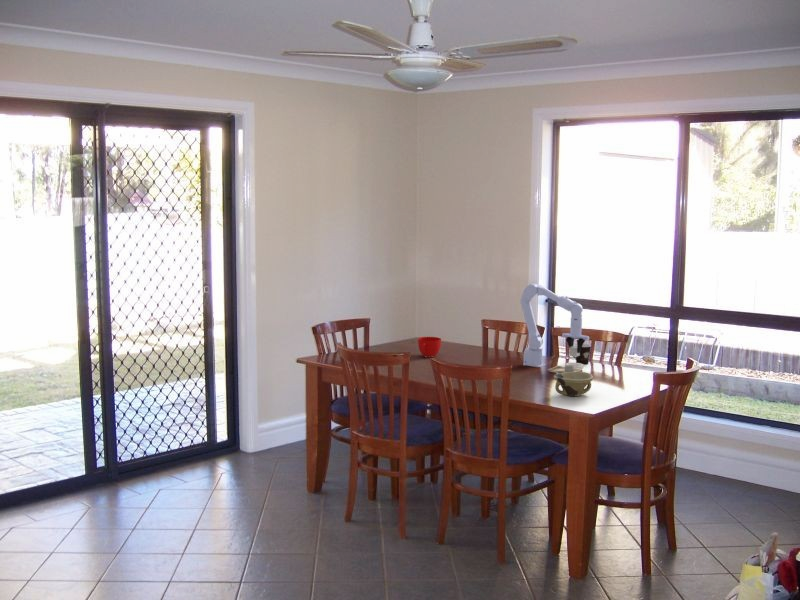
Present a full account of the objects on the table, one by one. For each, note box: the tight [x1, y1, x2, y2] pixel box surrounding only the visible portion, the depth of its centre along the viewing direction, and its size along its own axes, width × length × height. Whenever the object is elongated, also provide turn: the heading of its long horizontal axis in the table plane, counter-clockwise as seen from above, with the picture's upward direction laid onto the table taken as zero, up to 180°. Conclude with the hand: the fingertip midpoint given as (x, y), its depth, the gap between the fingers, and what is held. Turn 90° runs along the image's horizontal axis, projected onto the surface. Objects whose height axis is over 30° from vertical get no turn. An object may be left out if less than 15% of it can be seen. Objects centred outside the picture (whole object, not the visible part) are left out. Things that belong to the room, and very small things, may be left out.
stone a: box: [569, 345, 580, 358], centre depth 421 cm, size 4×4×5 cm
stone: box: [564, 364, 574, 372], centre depth 410 cm, size 4×3×4 cm
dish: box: [565, 362, 585, 370], centre depth 423 cm, size 9×9×2 cm
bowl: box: [553, 371, 594, 397], centre depth 369 cm, size 18×18×10 cm
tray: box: [547, 365, 583, 374], centre depth 414 cm, size 14×11×2 cm
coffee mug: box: [571, 343, 592, 366], centre depth 435 cm, size 12×9×10 cm
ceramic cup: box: [417, 336, 442, 358], centre depth 449 cm, size 13×17×10 cm
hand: (575, 352), depth 422 cm, fingers closed on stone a, 4 cm apart
